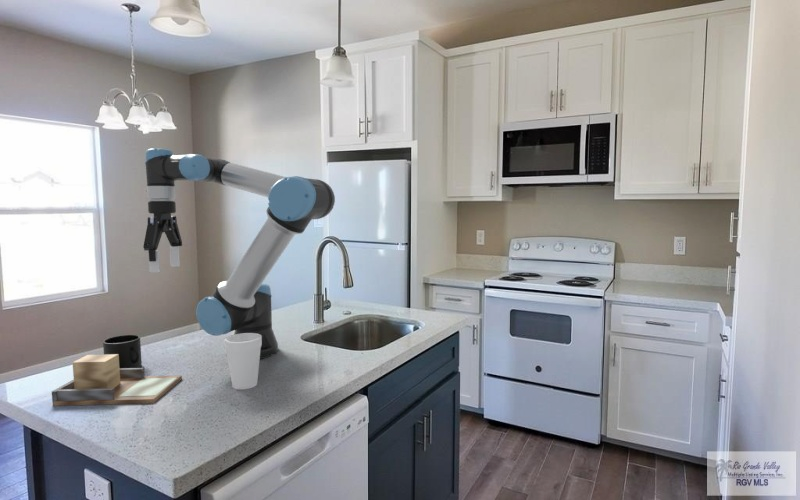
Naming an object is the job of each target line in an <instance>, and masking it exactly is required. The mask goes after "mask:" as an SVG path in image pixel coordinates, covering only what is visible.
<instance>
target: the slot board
mask: <svg viewBox="0 0 800 500" xmlns="http://www.w3.org/2000/svg"><path fill="white" fill-rule="evenodd" d="M181 380H183V375H149V376H148V375H145V367H140V368H120V384H119V385H117V386H116V387H114V388H102V389H74V378H73V379H71V380H70V381H68V382H67V383H64V384H63V385H61V386H59V387H58V388H56V389H54V390H52V391H51V401H52V403H51V404H52V406H53V407H54V406H56V407H57V406H87V405H89V406H90V405H95V406H96V405H127V404H128V405H129V404H130V405H132V404H154V403H156V402H157V401H158V400H159V399H160V398H162V397H163V396H164V395H165V394H166V393H167V392H168V391H170V390H171V389H172V388H174V387H175V385H177V384H178V383H179V382H180V381H181Z"/></svg>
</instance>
